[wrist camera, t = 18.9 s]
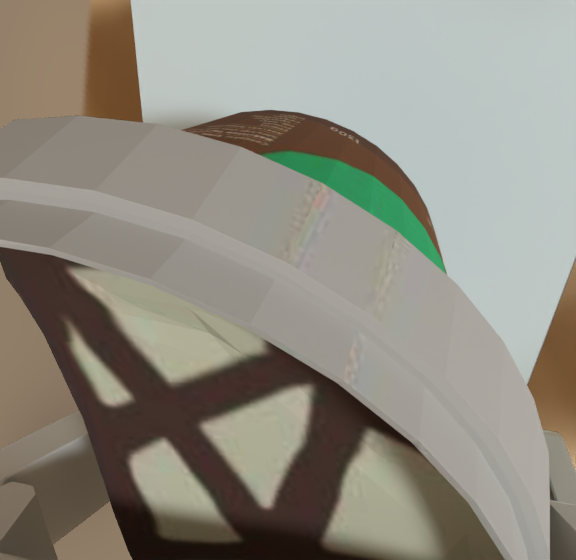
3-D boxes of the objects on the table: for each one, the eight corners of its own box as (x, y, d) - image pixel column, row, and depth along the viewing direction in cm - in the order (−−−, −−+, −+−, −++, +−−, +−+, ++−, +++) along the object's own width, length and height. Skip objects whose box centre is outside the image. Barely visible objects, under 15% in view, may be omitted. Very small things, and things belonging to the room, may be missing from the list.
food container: (480, 413, 16) (551, 851, 8) (304, 409, 18) (212, 766, 10) (484, 3, 11) (746, 35, 2) (227, 52, 12) (-157, 173, 4)
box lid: (677, -55, 13) (695, -59, 13) (501, 424, 23) (505, 440, 22) (137, -71, 16) (122, -76, 15) (176, 366, 25) (168, 379, 24)
